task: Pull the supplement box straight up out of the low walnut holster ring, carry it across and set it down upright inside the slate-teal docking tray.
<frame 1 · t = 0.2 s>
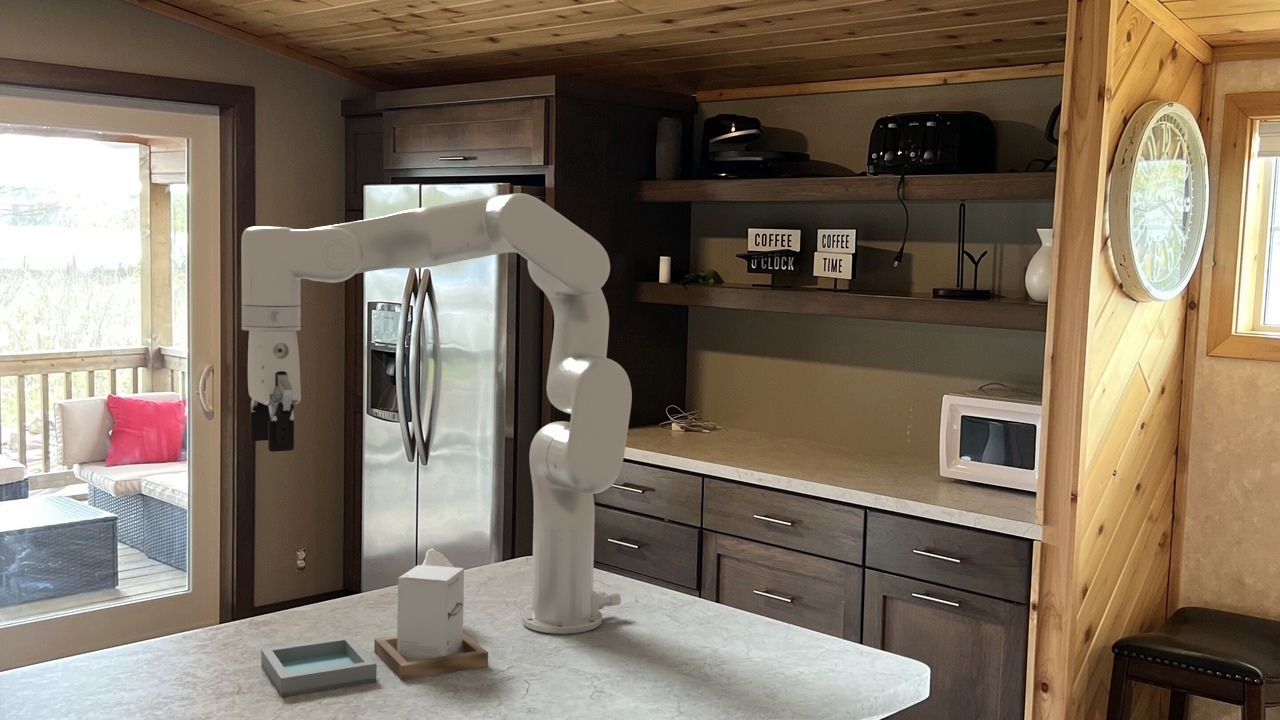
hand: (271, 445, 154), 31 cm above the countertop, tool pointing down, fingers open, 9 cm apart
white rounded piece: (435, 624, 176), on the countertop
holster: (430, 659, 160), on the countertop
supplement box: (430, 660, 160), resting in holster
dock: (318, 674, 154), on the countertop
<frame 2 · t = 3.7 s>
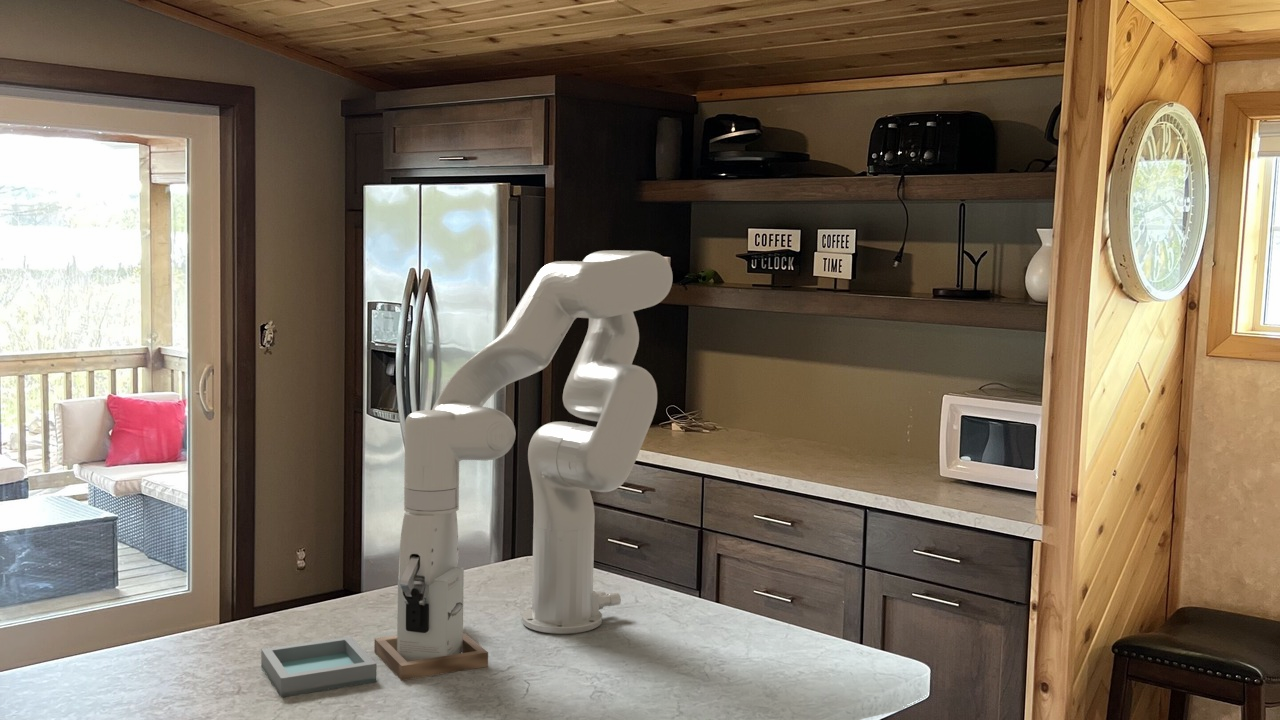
hand: (430, 621, 160), 5 cm above the countertop, tool pointing down, fingers closed on supplement box, 7 cm apart
supplement box: (430, 660, 160), resting in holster, touching gripper
everything else where it was.
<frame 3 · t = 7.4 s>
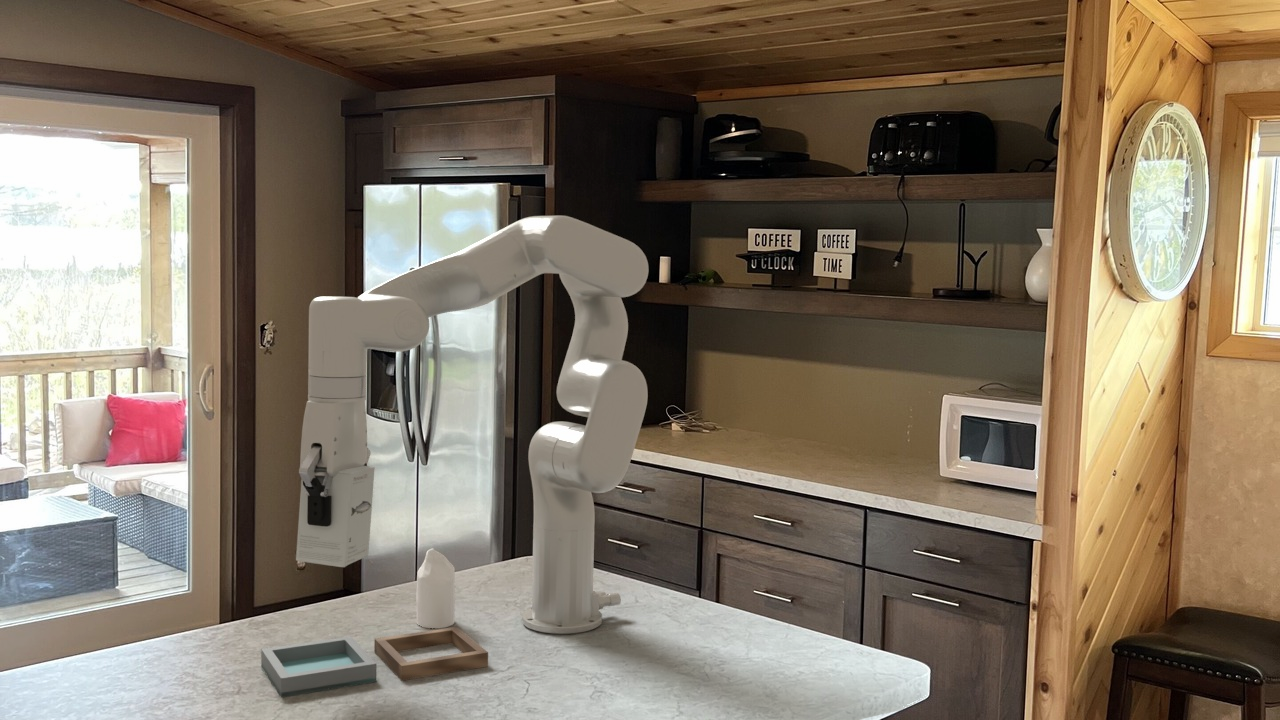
hand: (335, 518, 153), 21 cm above the countertop, tool pointing down, fingers closed on supplement box, 7 cm apart
supplement box: (332, 560, 153), point 15 cm above the countertop, touching gripper
everything else where it was.
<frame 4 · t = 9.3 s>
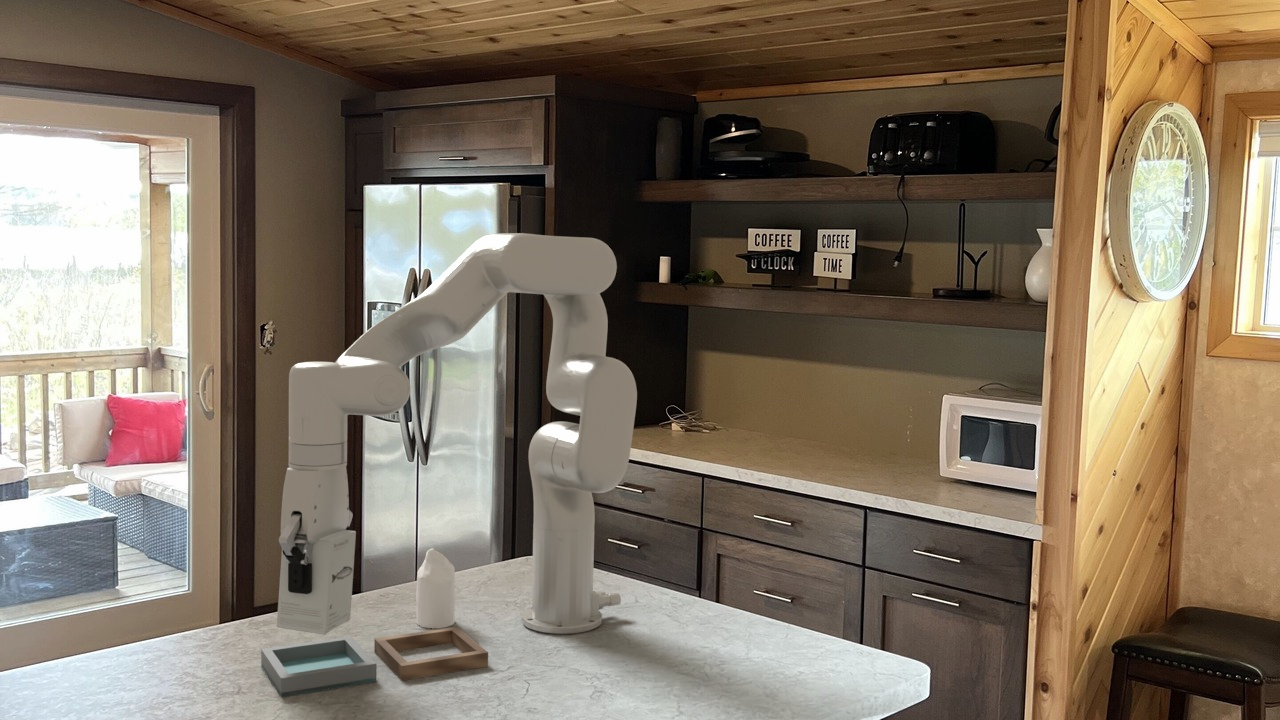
hand: (317, 583, 153), 13 cm above the countertop, tool pointing down, fingers closed on supplement box, 7 cm apart
supplement box: (314, 626, 153), point 7 cm above the countertop, touching gripper
everything else where it was.
when the fingers open (7 cm above the countertop, at t = 11.0 s): supplement box stays where it is, resting on dock.
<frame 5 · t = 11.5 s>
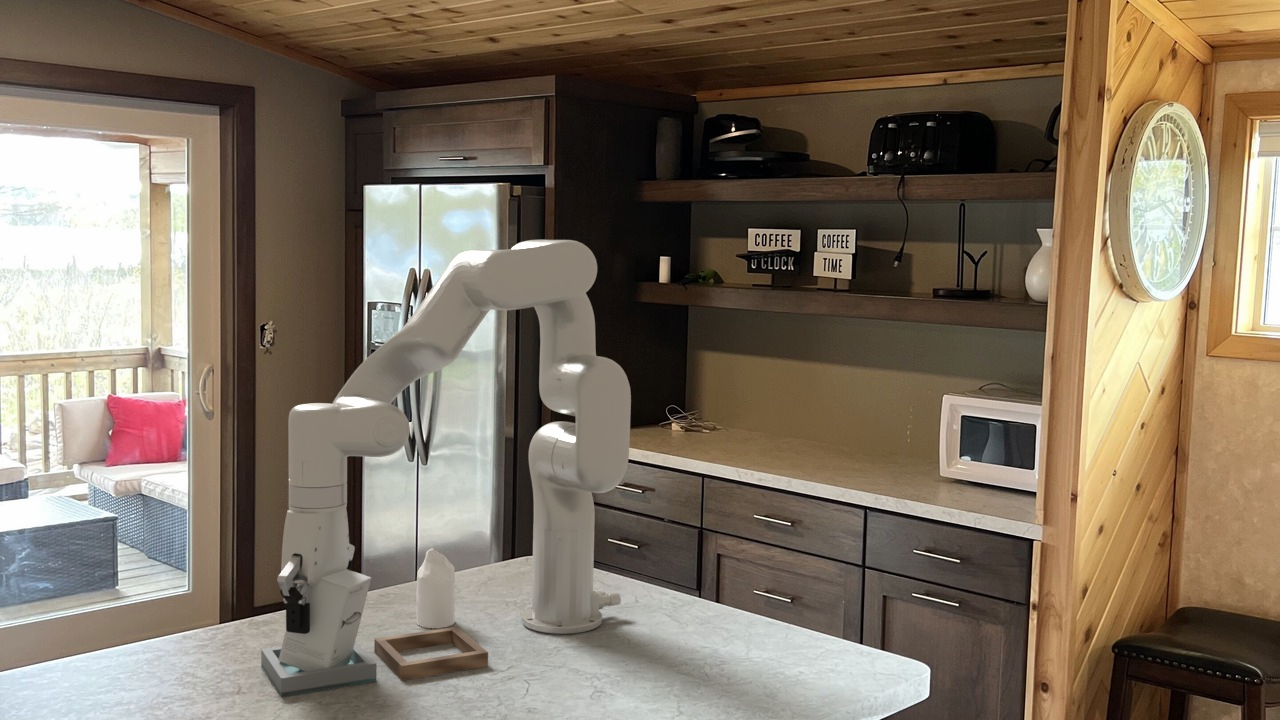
hand: (318, 621, 153), 7 cm above the countertop, tool pointing down, fingers open, 9 cm apart
supplement box: (314, 664, 153), point 1 cm above the countertop, touching dock
everything else where it was.
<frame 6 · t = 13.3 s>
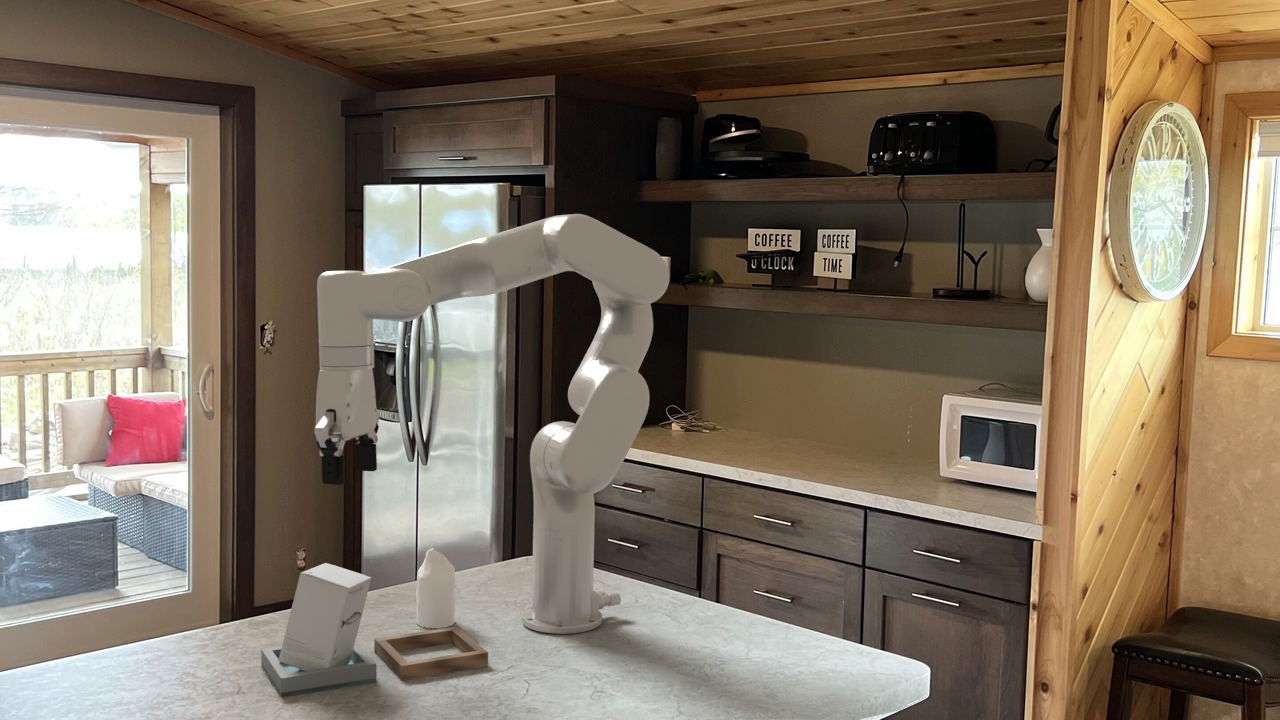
hand: (350, 477, 162), 25 cm above the countertop, tool pointing down, fingers open, 9 cm apart
nothing on the countertop moved.
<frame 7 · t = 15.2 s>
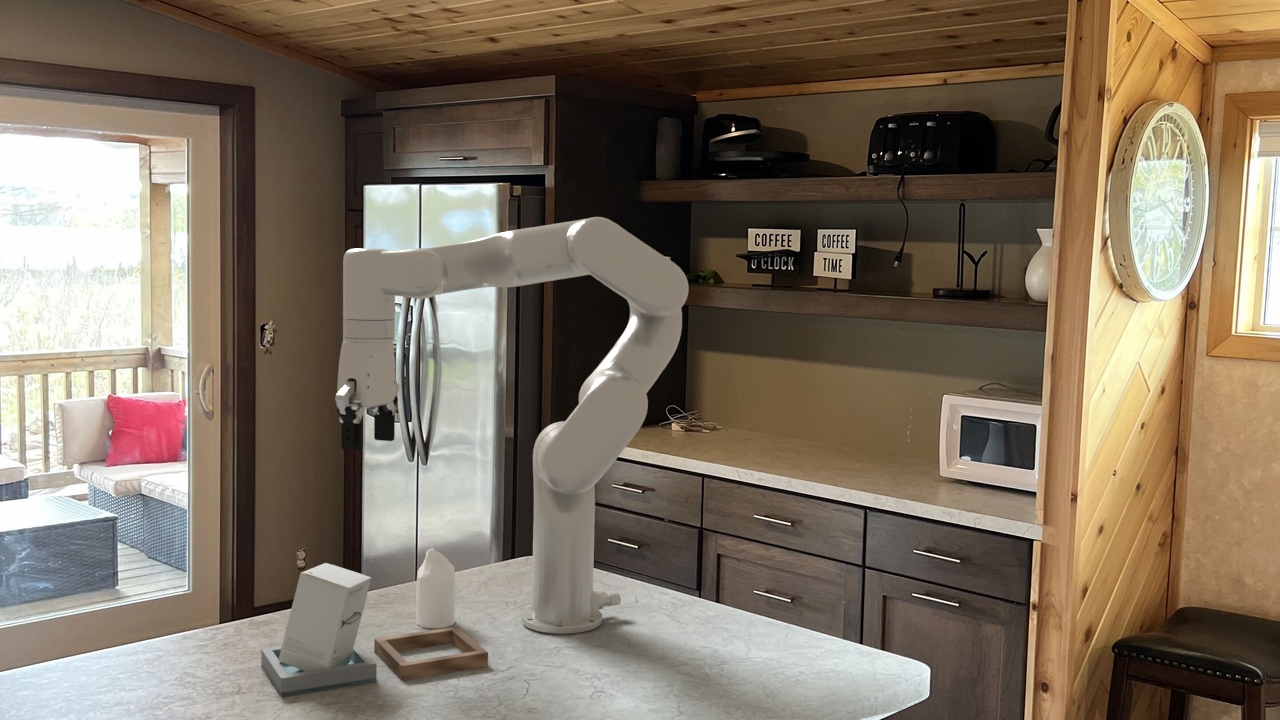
hand: (368, 444, 171), 28 cm above the countertop, tool pointing down, fingers open, 9 cm apart
nothing on the countertop moved.
at the end: supplement box 0.5 cm off-centre on the dock, point 1.4 cm above the dock's base; supplement box tilted 14°; the gripper is holding nothing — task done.
